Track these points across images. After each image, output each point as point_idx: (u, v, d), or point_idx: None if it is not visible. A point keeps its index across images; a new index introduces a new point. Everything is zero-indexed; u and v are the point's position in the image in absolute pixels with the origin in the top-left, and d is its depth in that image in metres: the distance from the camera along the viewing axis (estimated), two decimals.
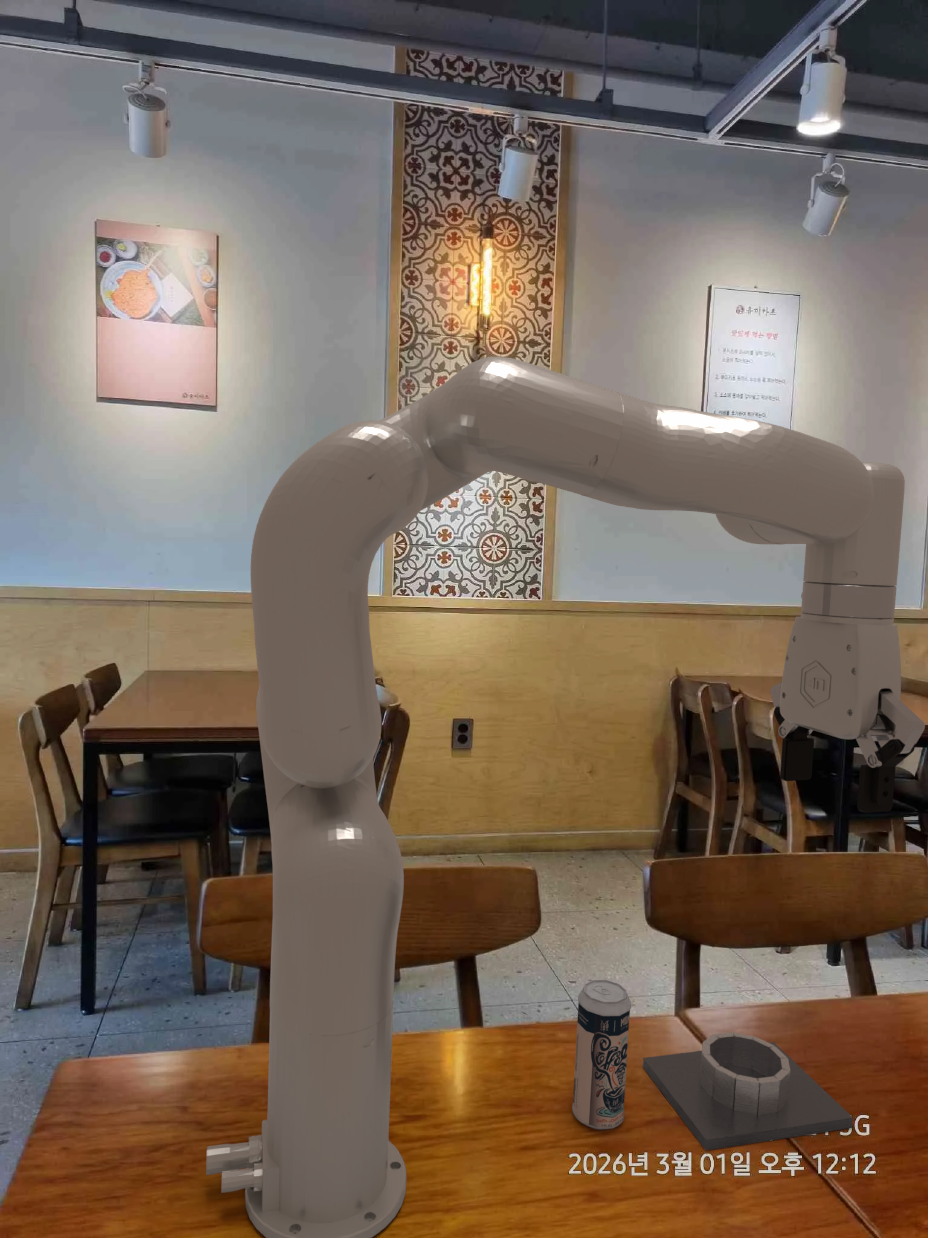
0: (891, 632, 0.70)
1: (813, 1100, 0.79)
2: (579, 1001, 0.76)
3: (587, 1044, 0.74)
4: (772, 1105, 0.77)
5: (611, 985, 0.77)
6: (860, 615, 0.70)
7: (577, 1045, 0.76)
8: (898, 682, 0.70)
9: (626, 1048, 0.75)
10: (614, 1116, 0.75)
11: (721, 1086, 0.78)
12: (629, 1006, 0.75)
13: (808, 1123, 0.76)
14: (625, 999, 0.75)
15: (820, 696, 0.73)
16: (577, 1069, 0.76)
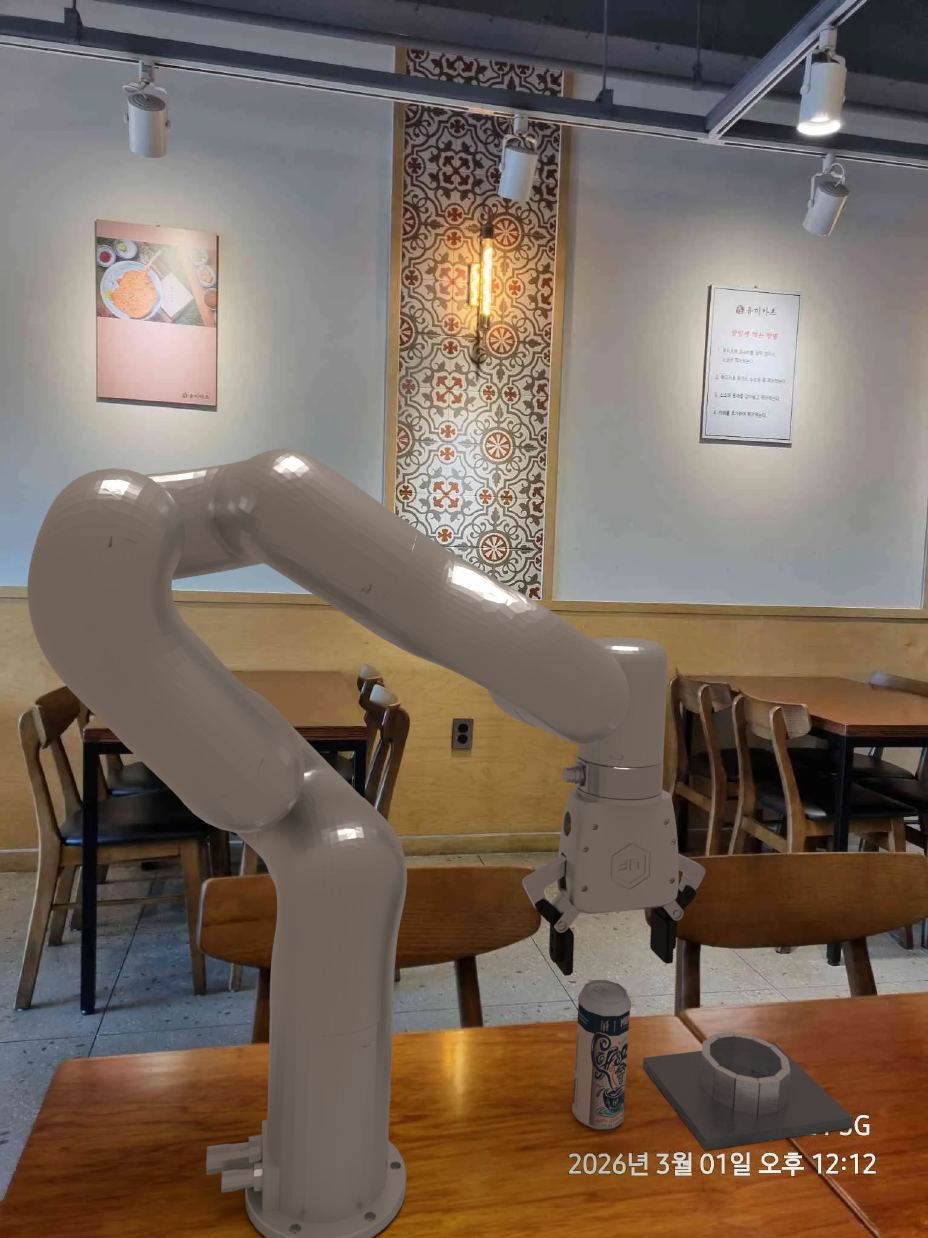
0: None
1: (813, 1100, 0.79)
2: (579, 1001, 0.76)
3: (587, 1044, 0.74)
4: (772, 1105, 0.77)
5: (611, 985, 0.77)
6: None
7: (577, 1045, 0.76)
8: None
9: (626, 1048, 0.75)
10: (614, 1116, 0.75)
11: (721, 1086, 0.78)
12: (629, 1006, 0.75)
13: (808, 1123, 0.76)
14: (625, 999, 0.75)
15: (636, 876, 0.73)
16: (577, 1069, 0.76)
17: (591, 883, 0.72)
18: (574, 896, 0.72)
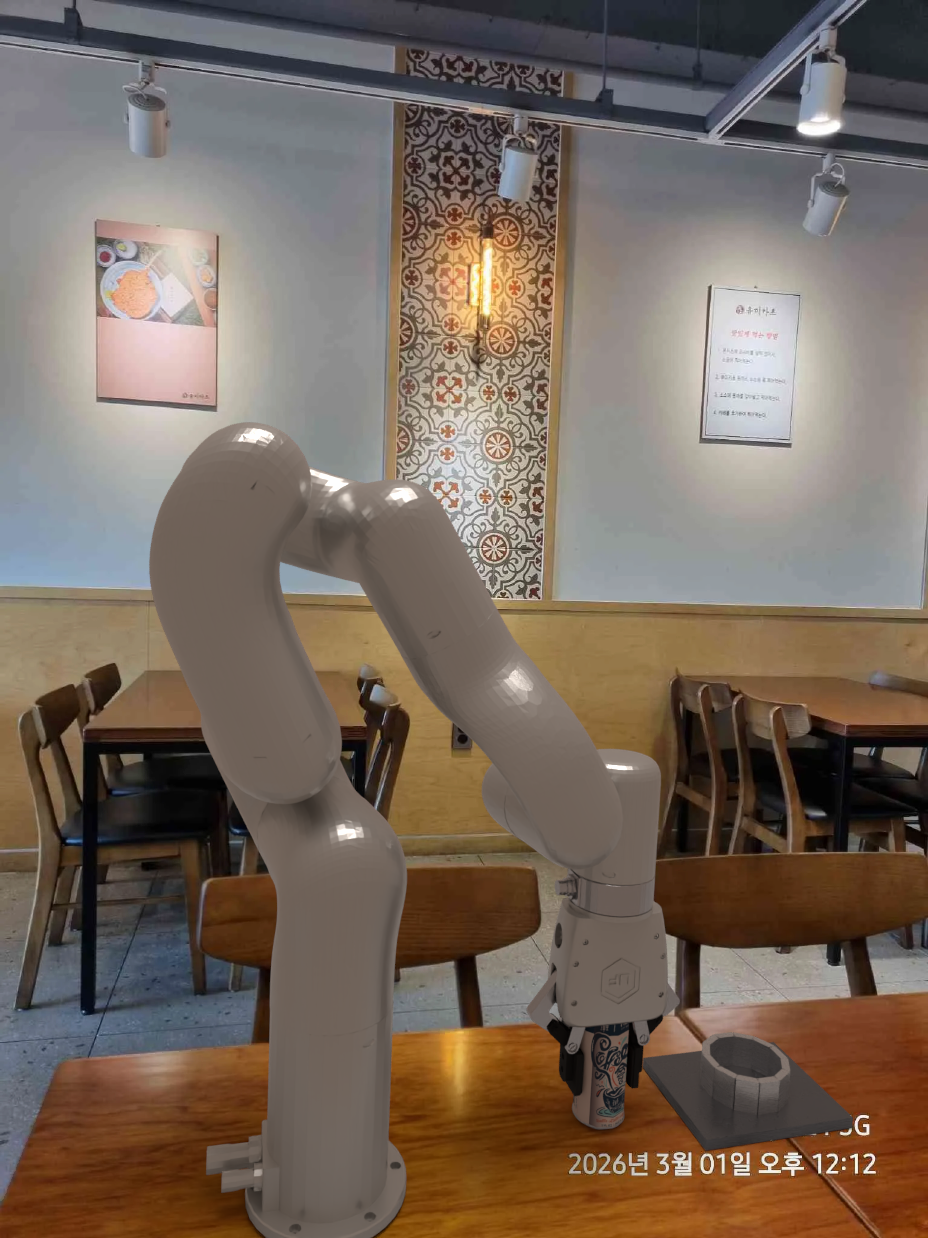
0: None
1: (813, 1100, 0.79)
2: None
3: (587, 1044, 0.74)
4: (772, 1105, 0.77)
5: None
6: None
7: None
8: None
9: (626, 1048, 0.75)
10: (614, 1116, 0.75)
11: (721, 1086, 0.78)
12: None
13: (808, 1123, 0.76)
14: None
15: (626, 990, 0.73)
16: None
17: (581, 998, 0.72)
18: (563, 1010, 0.72)
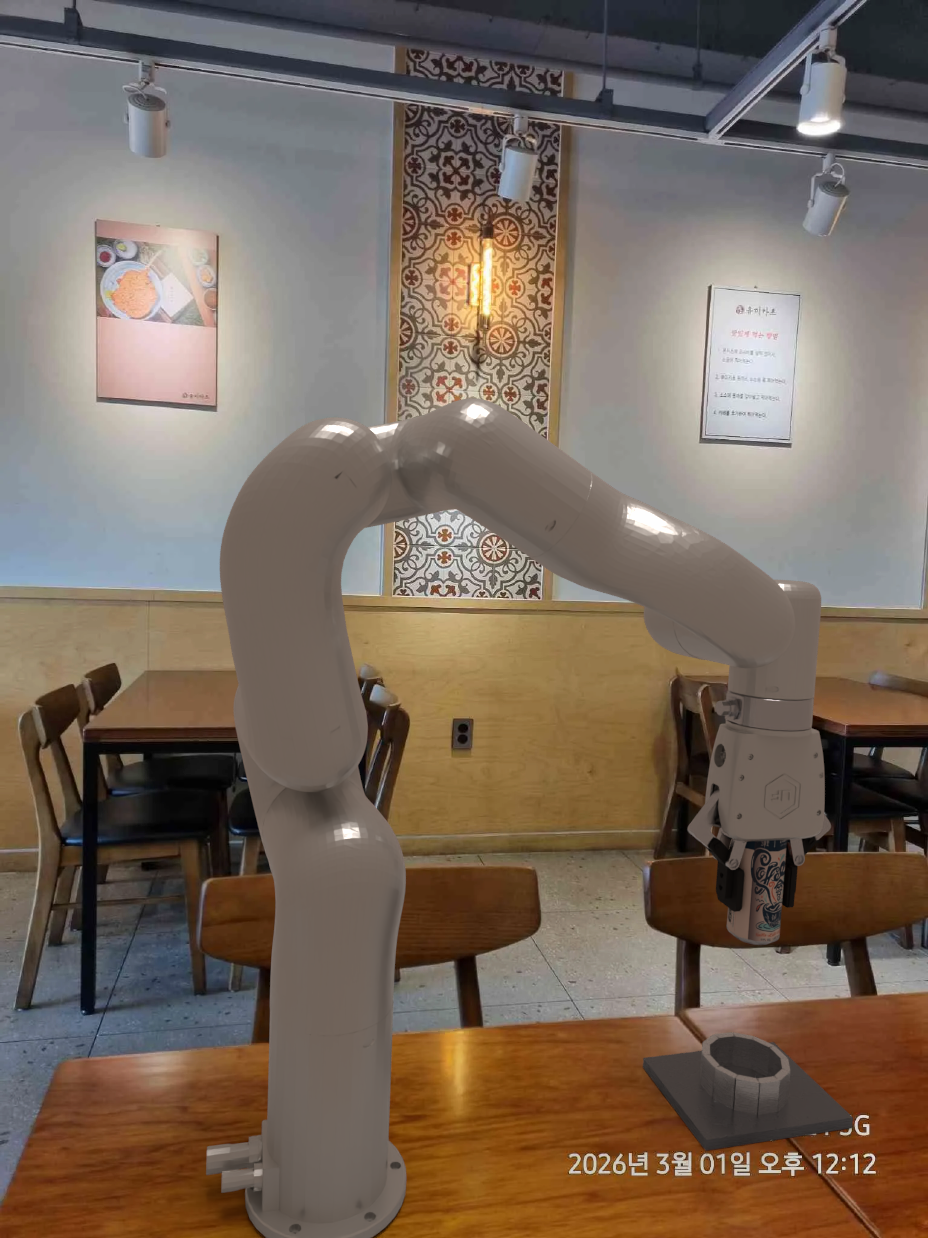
0: None
1: (813, 1100, 0.79)
2: None
3: (747, 860, 0.77)
4: (772, 1105, 0.77)
5: None
6: None
7: None
8: None
9: (784, 865, 0.77)
10: (772, 931, 0.77)
11: (721, 1086, 0.78)
12: None
13: (808, 1123, 0.76)
14: None
15: (787, 806, 0.76)
16: None
17: (745, 811, 0.75)
18: (729, 823, 0.75)
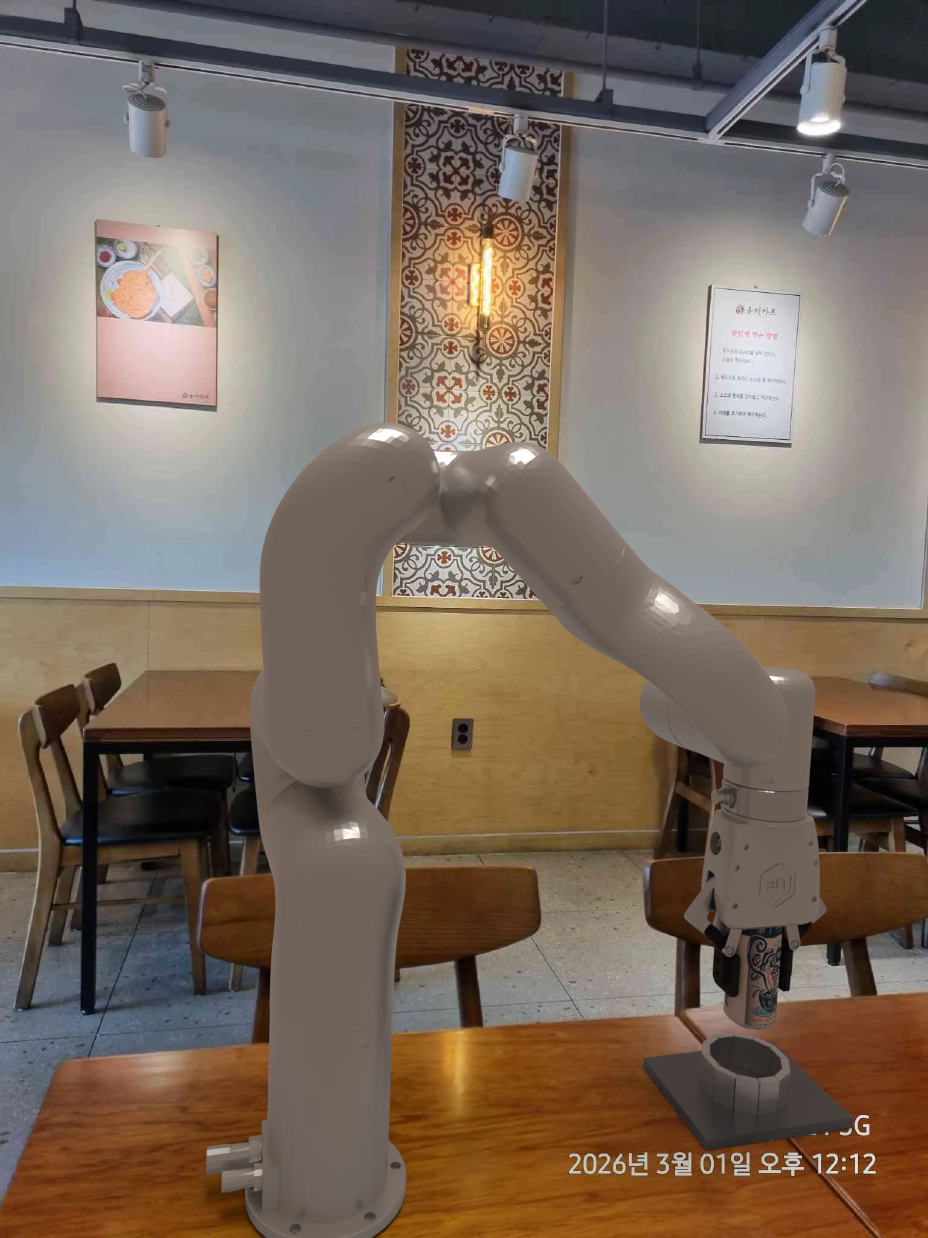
0: None
1: (813, 1100, 0.79)
2: None
3: (743, 947, 0.78)
4: (772, 1105, 0.77)
5: None
6: None
7: None
8: None
9: (779, 951, 0.78)
10: (769, 1016, 0.78)
11: (721, 1086, 0.78)
12: None
13: (808, 1123, 0.76)
14: None
15: (782, 894, 0.76)
16: None
17: (741, 900, 0.75)
18: (724, 912, 0.75)
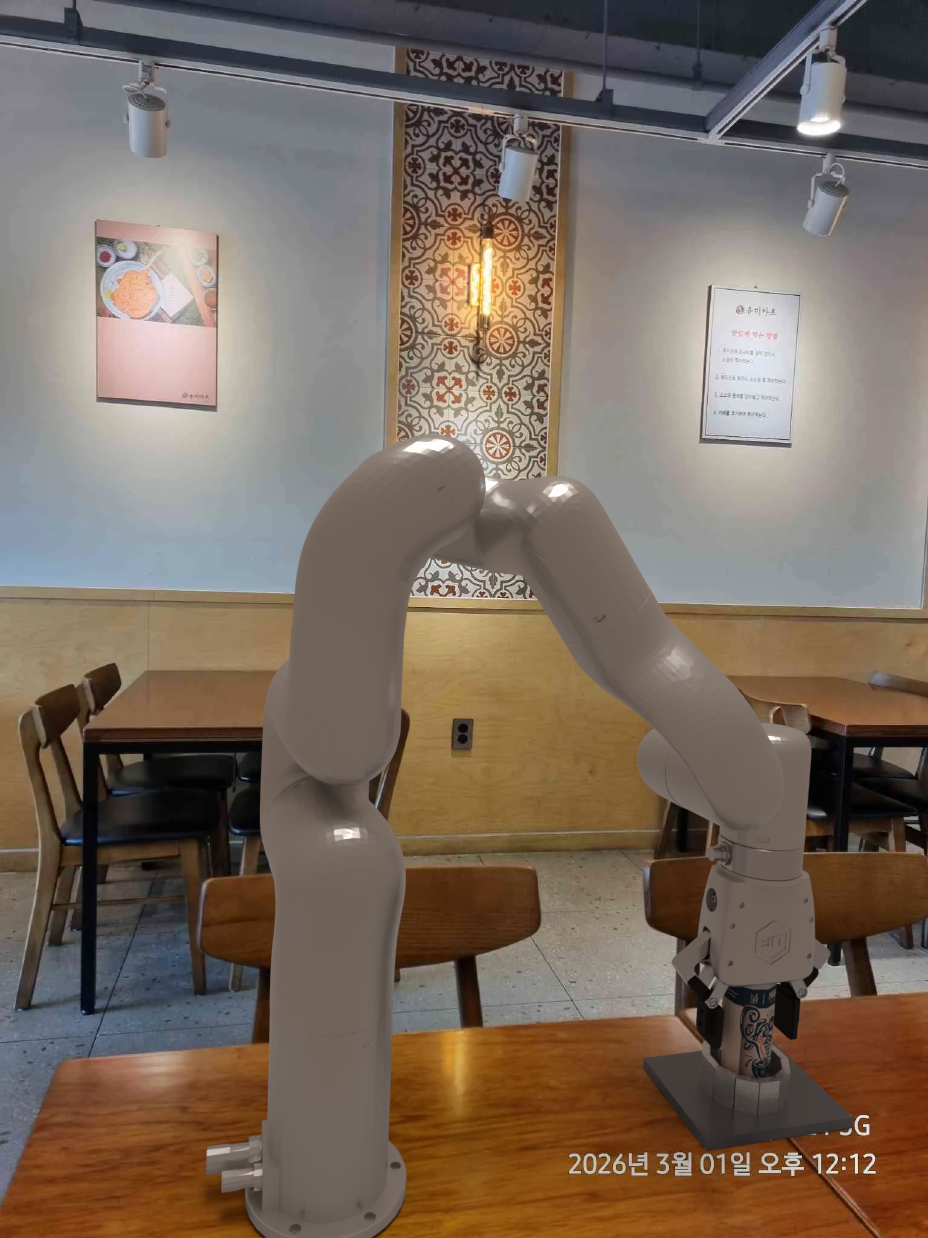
0: None
1: (813, 1100, 0.79)
2: None
3: (736, 1016, 0.78)
4: (772, 1105, 0.77)
5: None
6: None
7: (724, 1018, 0.79)
8: None
9: (772, 1020, 0.78)
10: None
11: (721, 1086, 0.78)
12: None
13: (808, 1123, 0.76)
14: None
15: (777, 951, 0.77)
16: (724, 1041, 0.79)
17: (736, 958, 0.76)
18: (720, 970, 0.76)
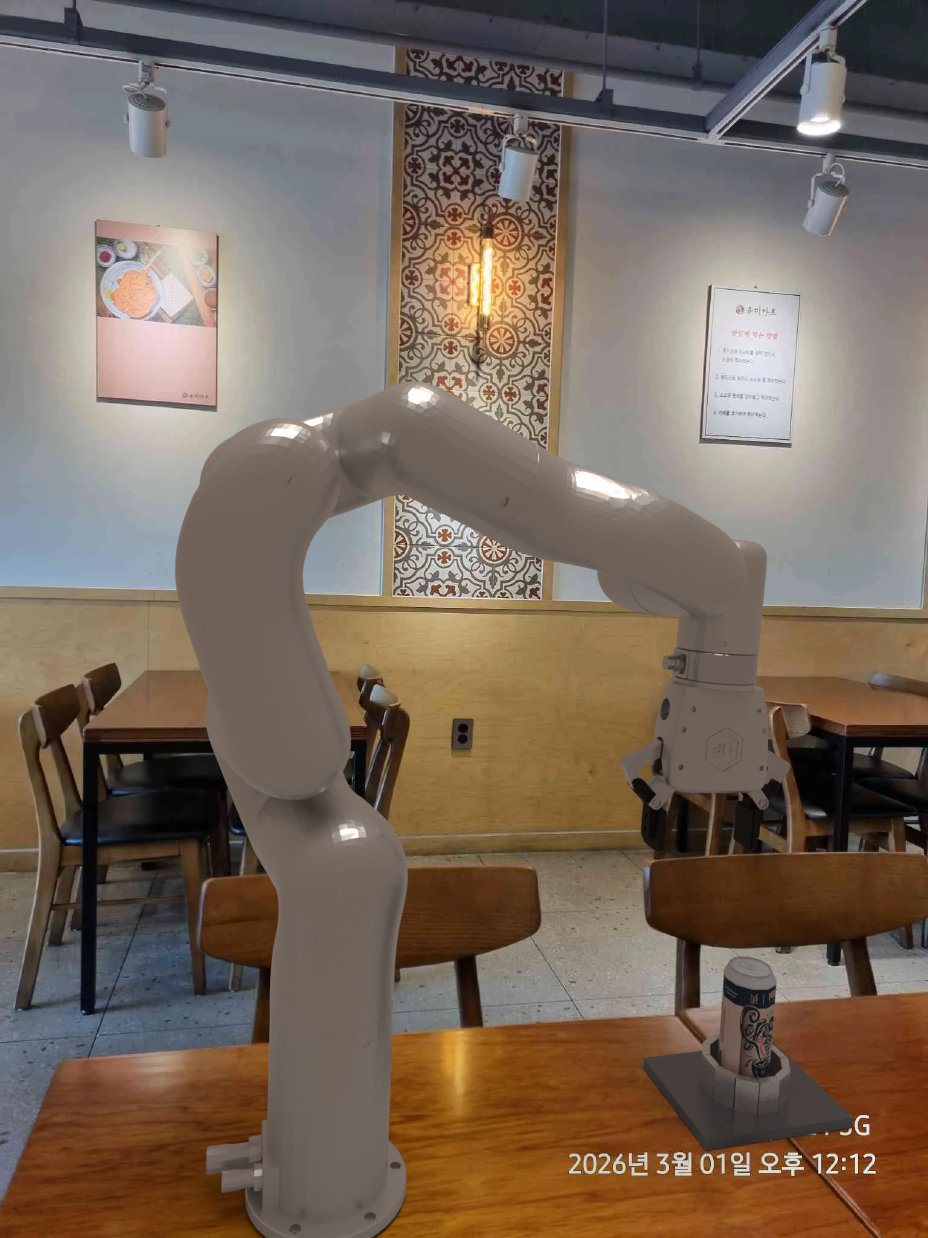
0: None
1: (813, 1100, 0.79)
2: (726, 976, 0.79)
3: (736, 1016, 0.78)
4: (772, 1105, 0.77)
5: (754, 961, 0.81)
6: None
7: (724, 1018, 0.79)
8: None
9: (772, 1021, 0.78)
10: None
11: (721, 1086, 0.78)
12: (775, 980, 0.78)
13: (808, 1123, 0.76)
14: (772, 974, 0.78)
15: (729, 760, 0.77)
16: (724, 1041, 0.79)
17: (687, 762, 0.77)
18: (670, 774, 0.77)
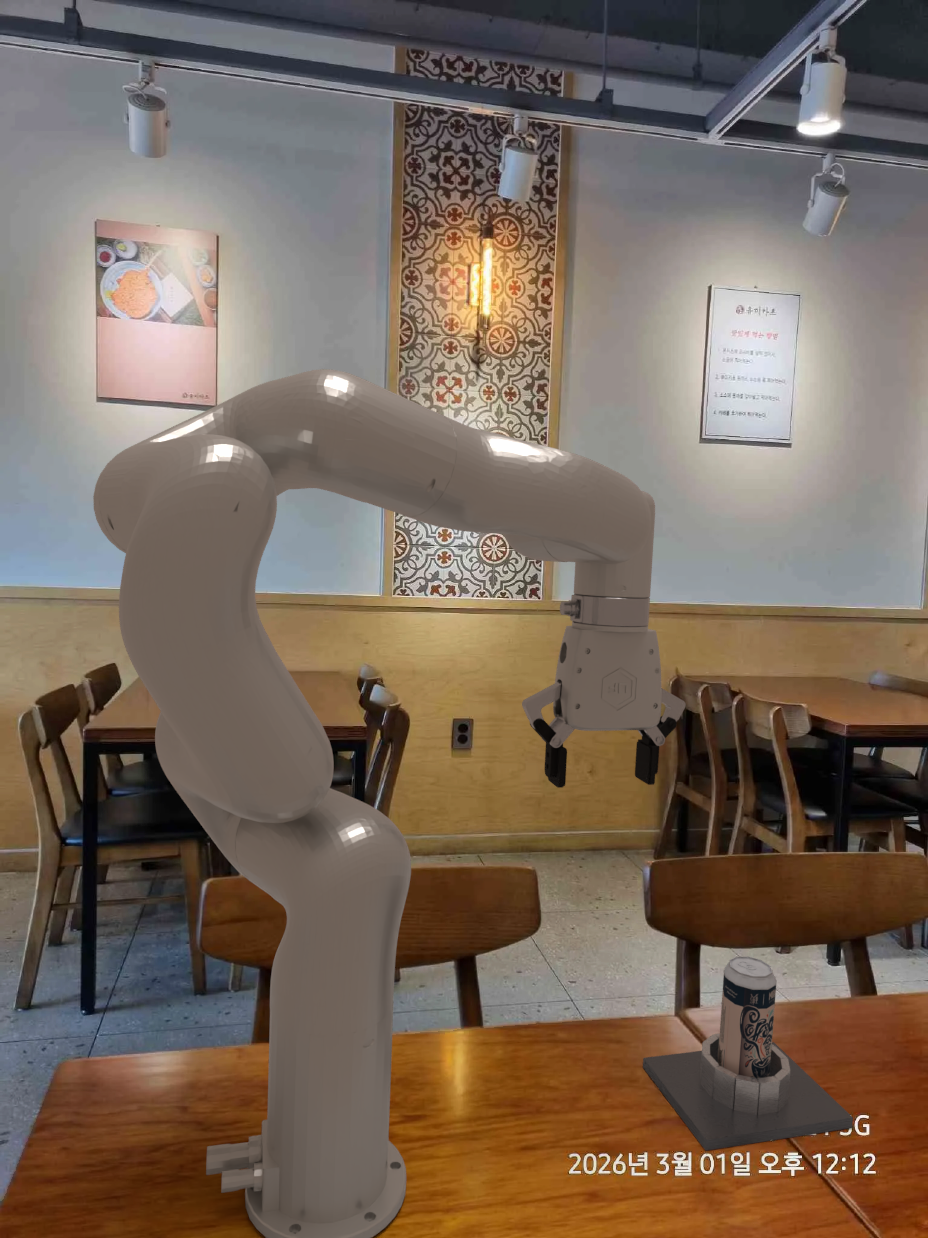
0: None
1: (813, 1100, 0.79)
2: (726, 976, 0.79)
3: (736, 1016, 0.78)
4: (772, 1105, 0.77)
5: (754, 961, 0.81)
6: None
7: (724, 1018, 0.79)
8: None
9: (772, 1021, 0.78)
10: None
11: (721, 1086, 0.78)
12: (775, 980, 0.78)
13: (808, 1123, 0.76)
14: (771, 974, 0.78)
15: (624, 698, 0.82)
16: (724, 1041, 0.79)
17: (583, 701, 0.81)
18: (568, 713, 0.81)
